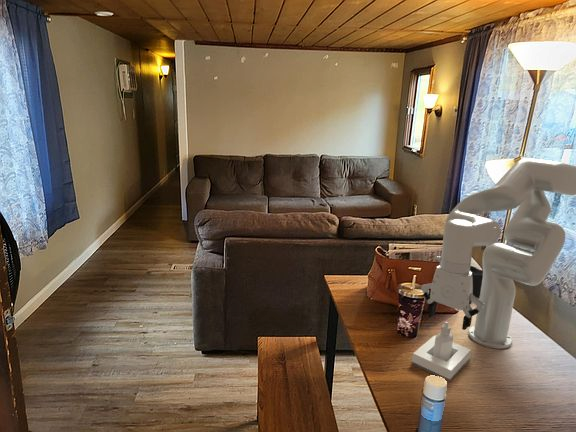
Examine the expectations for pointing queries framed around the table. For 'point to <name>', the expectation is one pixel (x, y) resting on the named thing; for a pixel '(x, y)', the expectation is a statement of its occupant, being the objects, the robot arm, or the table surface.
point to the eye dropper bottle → (443, 343)
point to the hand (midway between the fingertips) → (448, 321)
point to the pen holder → (476, 280)
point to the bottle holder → (440, 367)
